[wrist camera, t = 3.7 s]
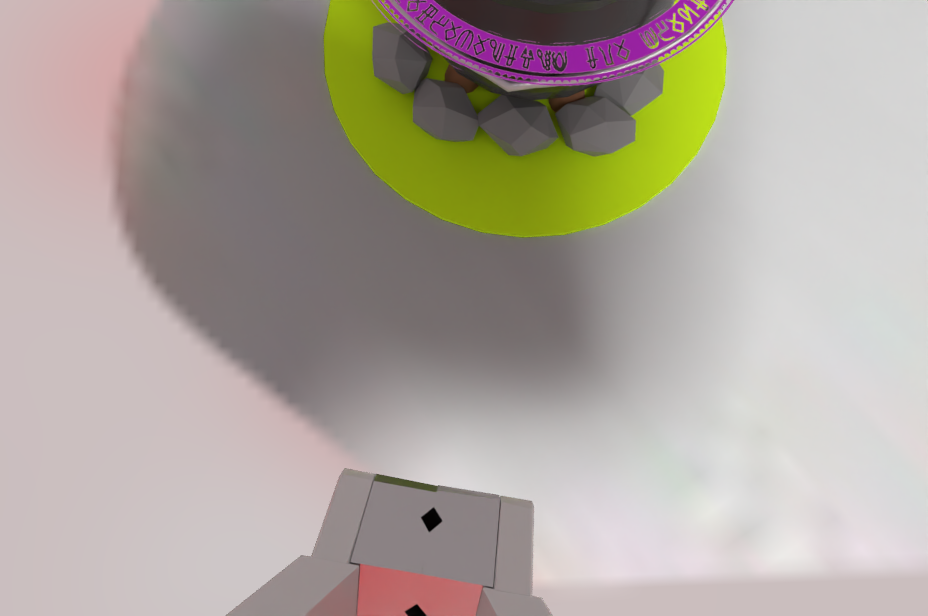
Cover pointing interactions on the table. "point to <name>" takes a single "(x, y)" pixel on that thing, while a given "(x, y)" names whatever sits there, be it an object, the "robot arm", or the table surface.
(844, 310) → the table surface
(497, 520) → the robot arm
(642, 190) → the toy cauldron
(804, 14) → the table surface
